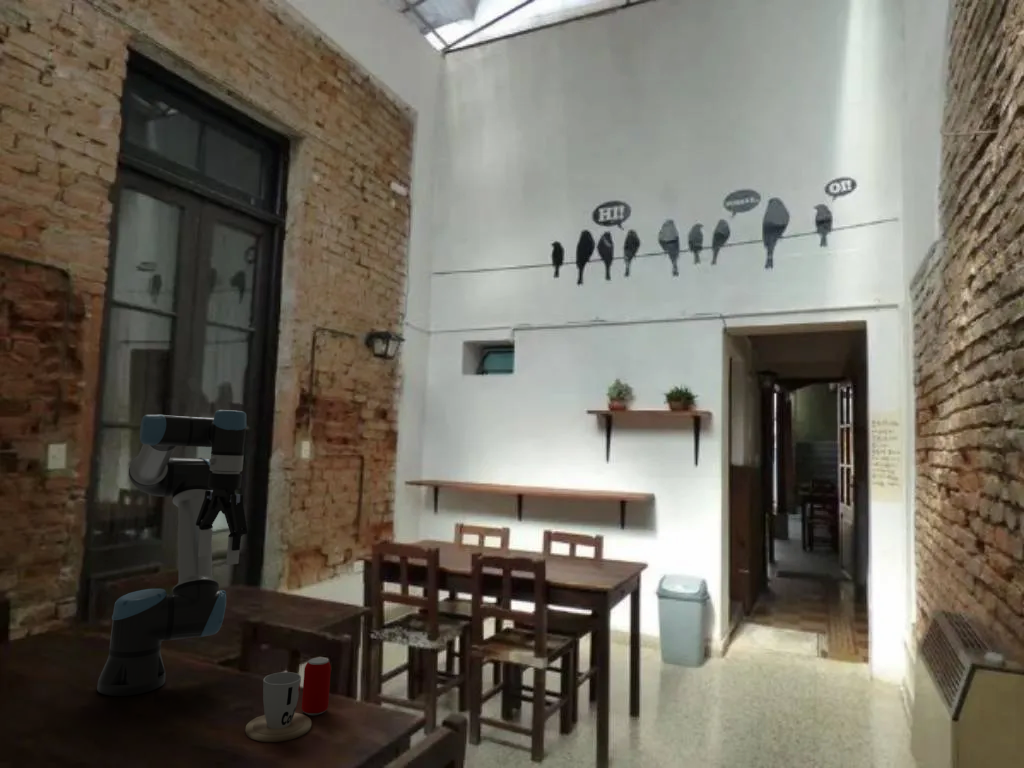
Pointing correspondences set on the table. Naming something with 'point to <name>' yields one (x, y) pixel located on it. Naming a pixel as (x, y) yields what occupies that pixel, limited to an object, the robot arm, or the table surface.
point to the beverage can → (316, 686)
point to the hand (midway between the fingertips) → (217, 560)
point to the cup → (280, 698)
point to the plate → (263, 733)
